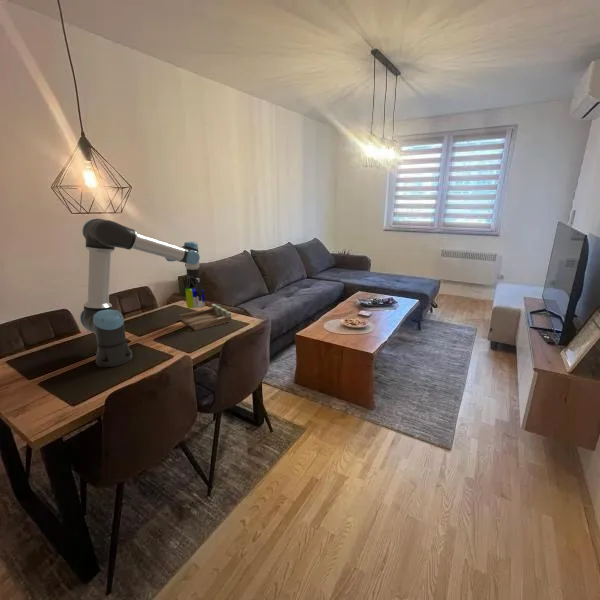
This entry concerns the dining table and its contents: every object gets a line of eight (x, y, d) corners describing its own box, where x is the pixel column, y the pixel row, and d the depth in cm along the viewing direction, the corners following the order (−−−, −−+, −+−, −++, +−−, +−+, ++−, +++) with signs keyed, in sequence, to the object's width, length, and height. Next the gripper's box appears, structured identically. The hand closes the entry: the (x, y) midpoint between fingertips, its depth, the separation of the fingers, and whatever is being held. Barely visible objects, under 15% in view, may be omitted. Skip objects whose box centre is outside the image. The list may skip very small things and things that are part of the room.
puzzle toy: (205, 306, 198) (204, 290, 195) (187, 308, 194) (186, 292, 191) (203, 302, 206) (202, 286, 203) (186, 303, 203) (185, 288, 200)
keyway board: (231, 321, 207) (230, 312, 205) (195, 330, 192) (194, 320, 190) (214, 312, 223) (214, 303, 221) (180, 320, 207) (179, 310, 206)
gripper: (208, 271, 187) (210, 306, 194) (190, 264, 204) (193, 297, 211) (195, 272, 182) (198, 309, 189) (178, 265, 199) (181, 299, 206)
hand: (195, 303), depth 200 cm, fingers closed on puzzle toy, 12 cm apart
